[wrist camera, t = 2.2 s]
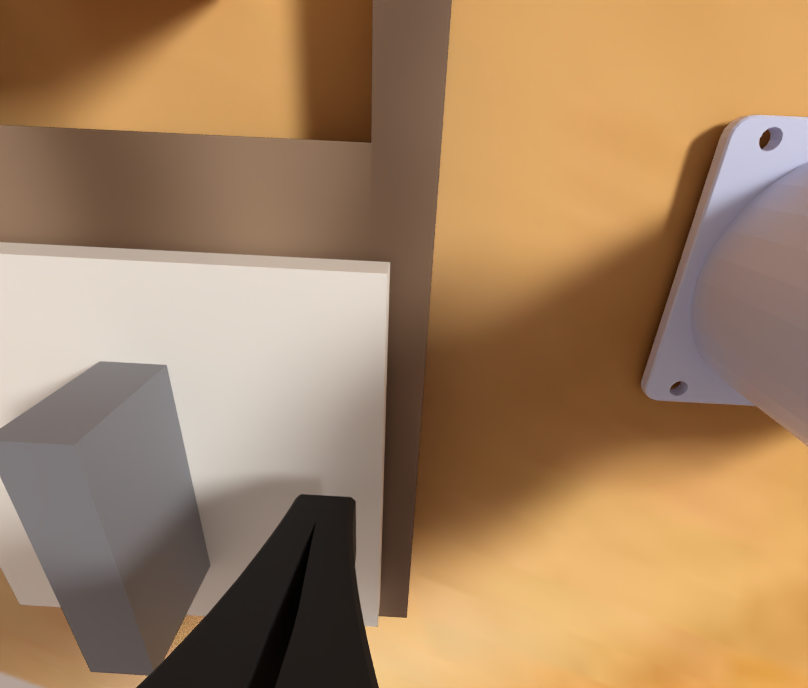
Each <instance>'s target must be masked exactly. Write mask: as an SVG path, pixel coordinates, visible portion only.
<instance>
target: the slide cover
mask: <svg viewBox="0 0 808 688" xmlns="http://www.w3.org/2000/svg"><path fill="white" fill-rule="evenodd" d="M389 286H390V262H378V261H359V260H339V259H320V258H300V257H281V256H261V255H242V254H222V253H203V252H183V251H164V250H144V249H125V248H105V247H85V246H66V245H46V244H27V243H7V242H0V568H1V570H2V571H3V573H4V575H5V577H6V579H7V581H8V583H9V585H10V587H11V589H12V590H13V592H14V594H15V596H16V598H17V600H18V602H19V604H20V605H32V606H48V607H61V609H62V611H63V613H64V615H65V617H66V620H67V622H68V624H69V626H70V628H71V630H72V632H73V635H74V637H75V639H76V641H77V643H78V645H79V648H80V650H81V652H82V654H83V656H84V658H85V660H86V663H87V665H88V667H89V669H90V671H91V672H102V673H118V674H134V675H150V674H151V673H152V672H153V671H154V670H155V669H156V668H157V667H158V666H159V665H160V664H161V663H162V662H163V660H164V658H165V656H166V654H167V652H168V650H169V648H170V646H171V644H172V642H173V640H174V638H175V636H176V634H177V632H178V630H179V628H180V626H181V624H182V622H183V620H184V618H185V616H186V615H195V616H206V615H207V614H208V613H209V612H210V611H211V609H212V608H213V607H214V606H215V605H216V603H217V602H218V601H219V600H220V599H221V598H222V596H223V595H224V594H225V593H226V592H227V591H228V589H229V588H230V587H231V586H232V585H233V583H234V582H235V581H236V580H237V579H238V577H239V576H240V575H241V574H242V572H243V571H244V570H245V569H246V567H247V566H248V565H249V563H250V562H251V561H252V560H253V558H254V557H255V556H256V554H257V553H258V552H259V550H260V549H261V548H262V547H263V545H264V544H265V543H266V541H267V540H268V538H269V537H270V536H271V534H272V533H273V532H274V530H275V529H276V527H277V526H278V524H279V523H280V522H281V520H282V519H283V517H284V516H285V514H286V513H287V511H288V510H289V508H290V507H291V505H292V504H293V502H294V500H295V499H296V497H298V496H299V495H300V494H308V495H325V496H343V497H352V498H353V499H354V500H355V501H356V561H355V569H356V577H357V585H358V592H359V598H360V604H361V610H362V615H363V621H364V626H374V627H378V616H379V605H380V585H381V552H382V519H383V485H384V452H385V419H386V386H387V352H388V319H389Z"/></svg>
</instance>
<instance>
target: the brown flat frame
mask: <svg viewBox="0 0 808 688" xmlns="http://www.w3.org/2000/svg"><path fill="white" fill-rule="evenodd" d="M451 3H452V0H373V23H372V125H371V143H367V142H346V141H326V140H305V139H284V138H263V137H242V136H221V135H200V134H179V133H159V132H138V131H117V130H96V129H75V128H54V127H33V126H13V125H0V242H7V243H27V244H46V245H66V246H85V247H105V248H125V249H144V250H164V251H183V252H203V253H222V254H242V255H261V256H281V257H300V258H320V259H339V260H359V261H378V262H390V286H389V319H388V352H387V386H386V419H385V452H384V485H383V519H382V552H381V585H380V605H379V616H386V617H403V618H407V607H408V593H409V579H410V566H411V552H412V538H413V524H414V511H415V497H416V483H417V470H418V456H419V442H420V428H421V415H422V401H423V387H424V374H425V360H426V346H427V332H428V319H429V305H430V291H431V278H432V264H433V250H434V236H435V223H436V209H437V195H438V182H439V168H440V154H441V140H442V127H443V113H444V99H445V86H446V72H447V58H448V44H449V31H450V17H451Z"/></svg>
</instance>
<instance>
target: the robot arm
mask: <svg viewBox="0 0 808 688" xmlns="http://www.w3.org/2000/svg"><path fill="white" fill-rule="evenodd" d="M767 129H768V130H769V132H770V140H769V142H768V144H767V145H766V146H765V147H764V148H763V149H761V148H760V146H759V140H760V137H761V136H762V134H763V132H765V131H766V130H767ZM679 381H681V382H680V384H679V386H678V387H676V388H674V389H670V388H671V386H672V385H673V384H674V383H676V382H679ZM641 388H642V390H643V392H644V393H645V394H646V395H647V396H648V397H649V398H651V399H653V400H657V401H675V402H693V403H711V404H729V405H748V406H756V407H758V408H759V409H760V410H762V411H763V412H764V413H765V414H767V415H768V416H769V417H771V418H772V419H773V420H775V421H776V422H777V423H778V424H780V425H781V426H782V427H784V428H785V429H786V430H787V431H789V432H790V433H791V434H793V435H794V436H795V437H797V438H798V439H799V440H800V441H802V442H803V443H804V444H806V445H807V446H808V117H793V116H771V115H750V116H743V117H739V118H737V119H735V120H733V121H731V122H730V123H729V124H728V125H727V127H726V128H725V129H724V130H723V132H722V134H721V136H720V139H719V142H718V145H717V148H716V151H715V154H714V157H713V160H712V164H711V167H710V170H709V173H708V176H707V179H706V182H705V185H704V188H703V191H702V195H701V198H700V201H699V204H698V207H697V210H696V213H695V216H694V219H693V222H692V226H691V229H690V232H689V235H688V238H687V241H686V244H685V247H684V250H683V253H682V257H681V260H680V263H679V266H678V269H677V272H676V275H675V278H674V281H673V284H672V288H671V291H670V294H669V297H668V300H667V303H666V306H665V309H664V312H663V316H662V319H661V322H660V325H659V328H658V331H657V334H656V337H655V340H654V343H653V347H652V350H651V353H650V356H649V359H648V362H647V365H646V368H645V371H644V374H643V378H642V381H641ZM355 561H356V501H355V500H354V499H353V498H352V497H343V496H325V495H308V494H300V495H299V496H298V497H296V499H295V500H294V502H293V504H292V505H291V507H290V508H289V510H288V511H287V513H286V514H285V516H284V517H283V519H282V520H281V522H280V523H279V524H278V526H277V527H276V529H275V530H274V532H273V533H272V534H271V536H270V537H269V538H268V540H267V541H266V543H265V544H264V545H263V547H262V548H261V549H260V550H259V552H258V553H257V554H256V556H255V557H254V558H253V560H252V561H251V562H250V563H249V565H248V566H247V567H246V569H245V570H244V571H243V572H242V574H241V575H240V576H239V577H238V579H237V580H236V581H235V582H234V583H233V585H232V586H231V587H230V588H229V589H228V591H227V592H226V593H225V594H224V595H223V596H222V598H221V599H220V600H219V601H218V602H217V603H216V605H215V606H214V607H213V608H212V609H211V611H210V612H209V613H208V614H207V615H206V616H205V617H204V618H203V620H202V621H201V622H200V623H199V624H198V625H197V626H196V627H195V628H194V629H193V631H192V632H191V633H190V634H189V635H188V636H187V637H186V638H185V639H184V640H183V641H182V642H181V643H180V644H179V645H178V646H177V648H176V649H175V650H174V651H173V652H172V653H171V654H170V655H169V656H168V657H167V658H166V659H165V660H164V661H163V662H162V663H161V664H160V665H159V666H158V667H157V668H156V669H155V670H154V671H153V672H152V673H151V674H150V675H149V676H148V677H147V678H146V679H145V680H144V681H143V682H142V683H141V684H140V685H139V686H137V687H136V688H379V687H378V683H377V679H376V675H375V671H374V667H373V662H372V658H371V654H370V650H369V645H368V641H367V636H366V631H365V626H364V621H363V615H362V610H361V604H360V598H359V592H358V585H357V577H356V569H355Z"/></svg>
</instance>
